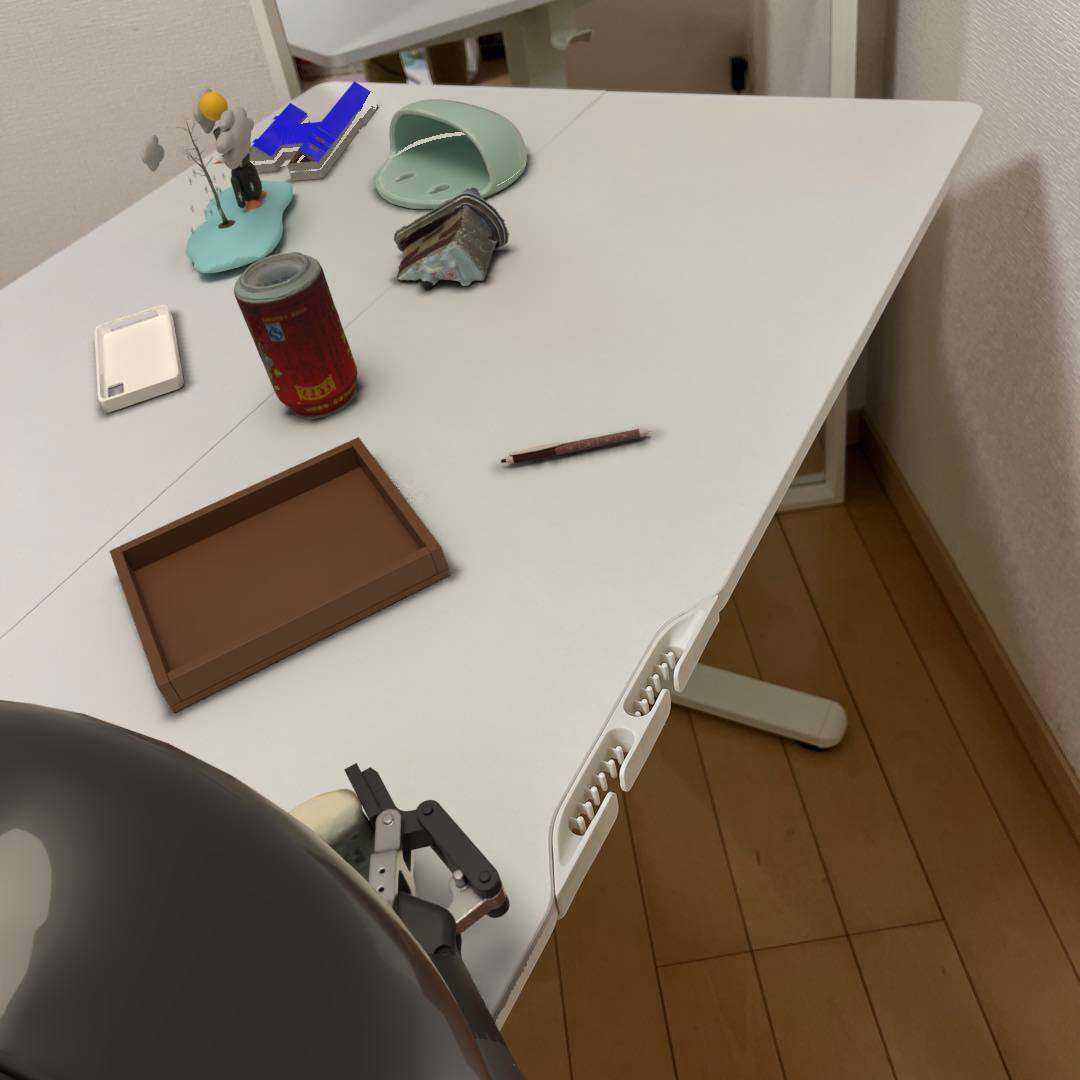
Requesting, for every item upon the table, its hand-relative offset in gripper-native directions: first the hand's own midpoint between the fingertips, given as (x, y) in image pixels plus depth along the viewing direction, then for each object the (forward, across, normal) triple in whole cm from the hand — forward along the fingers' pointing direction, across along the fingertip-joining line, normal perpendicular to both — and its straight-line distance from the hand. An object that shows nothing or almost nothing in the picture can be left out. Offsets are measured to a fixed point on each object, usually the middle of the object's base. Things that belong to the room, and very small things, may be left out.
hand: (296, 808), depth 54 cm
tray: (+25, -5, +6) cm, 26 cm away
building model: (+99, -33, +6) cm, 104 cm away
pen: (+23, -28, +6) cm, 36 cm away
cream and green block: (-2, 0, +6) cm, 7 cm away
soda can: (+44, -15, +6) cm, 46 cm away
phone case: (+63, -3, +6) cm, 63 cm away
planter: (+76, -42, +6) cm, 87 cm away
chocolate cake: (+56, -32, +6) cm, 64 cm away
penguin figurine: (+81, -19, +6) cm, 83 cm away
